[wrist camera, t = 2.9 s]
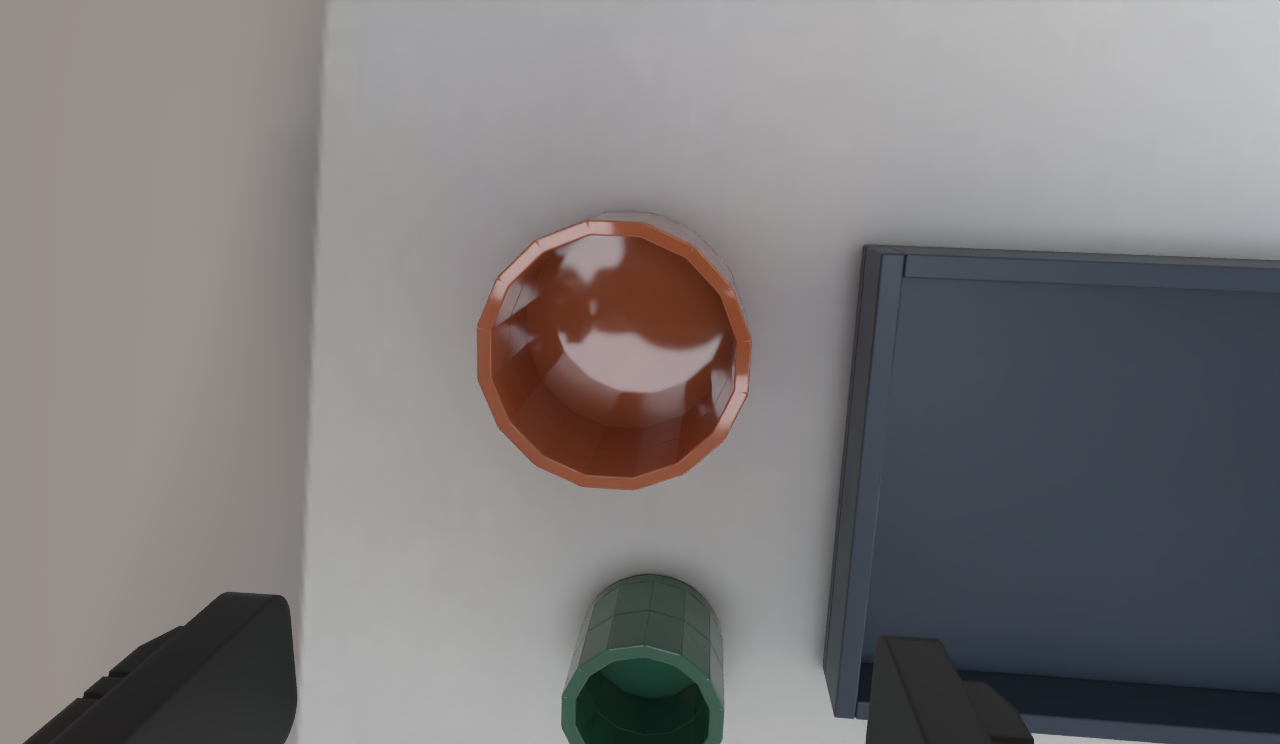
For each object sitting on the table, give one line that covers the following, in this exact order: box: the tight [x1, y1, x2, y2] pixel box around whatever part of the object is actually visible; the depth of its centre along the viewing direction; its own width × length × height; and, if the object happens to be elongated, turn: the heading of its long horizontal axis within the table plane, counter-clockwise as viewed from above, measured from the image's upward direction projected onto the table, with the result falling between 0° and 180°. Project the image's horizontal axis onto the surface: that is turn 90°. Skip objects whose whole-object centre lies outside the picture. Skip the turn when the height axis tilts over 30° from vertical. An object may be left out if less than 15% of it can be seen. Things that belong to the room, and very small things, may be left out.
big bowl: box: [477, 212, 752, 490], centre depth 22 cm, size 6×6×4 cm
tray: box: [823, 244, 1280, 744], centre depth 22 cm, size 15×13×2 cm
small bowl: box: [561, 575, 724, 744], centre depth 24 cm, size 4×4×4 cm
